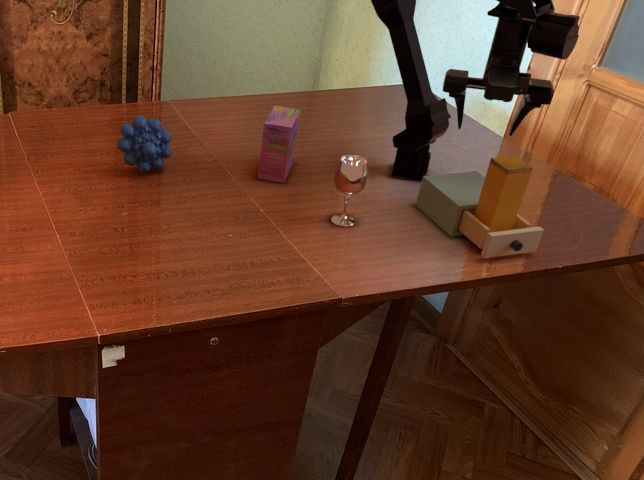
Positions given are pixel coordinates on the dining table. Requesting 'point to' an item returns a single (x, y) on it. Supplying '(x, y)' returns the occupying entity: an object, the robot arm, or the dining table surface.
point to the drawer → (500, 236)
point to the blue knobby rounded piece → (144, 143)
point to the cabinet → (449, 197)
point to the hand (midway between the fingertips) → (484, 131)
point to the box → (278, 143)
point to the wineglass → (349, 183)
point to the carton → (502, 193)
